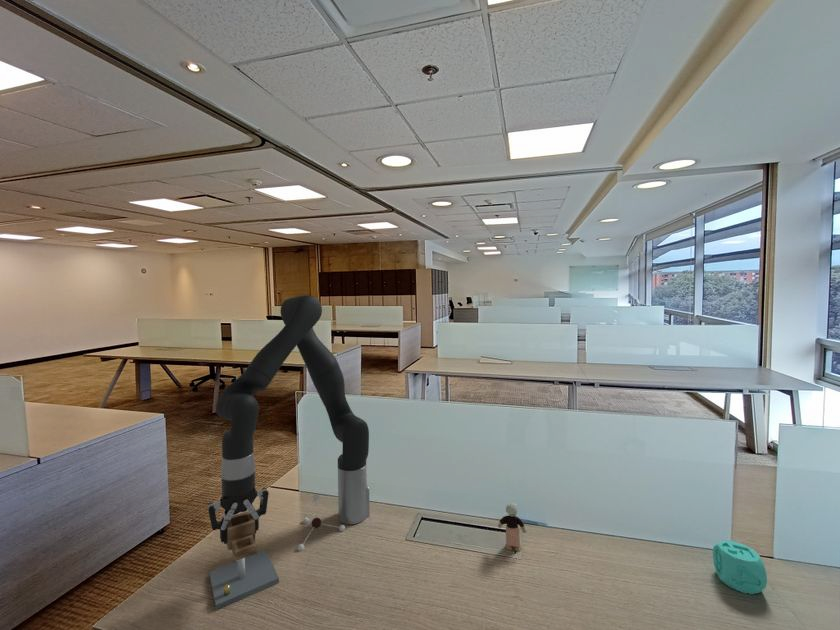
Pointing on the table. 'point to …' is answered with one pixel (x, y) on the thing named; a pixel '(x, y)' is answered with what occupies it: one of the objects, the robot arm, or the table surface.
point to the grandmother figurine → (512, 527)
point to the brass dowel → (226, 589)
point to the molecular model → (316, 524)
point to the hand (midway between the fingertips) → (239, 536)
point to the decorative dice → (739, 567)
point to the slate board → (242, 578)
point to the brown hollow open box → (241, 535)
